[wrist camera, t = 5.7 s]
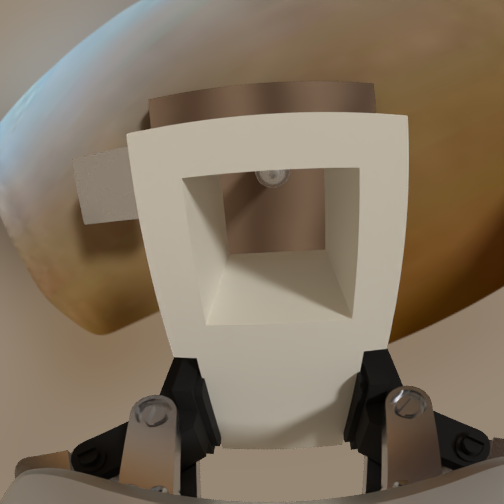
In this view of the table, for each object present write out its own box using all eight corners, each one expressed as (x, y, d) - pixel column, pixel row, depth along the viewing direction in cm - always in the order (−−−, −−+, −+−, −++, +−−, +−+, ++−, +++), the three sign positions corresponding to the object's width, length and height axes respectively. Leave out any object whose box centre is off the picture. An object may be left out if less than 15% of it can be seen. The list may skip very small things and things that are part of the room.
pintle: (285, 148, 21) (290, 153, 15) (287, 174, 22) (292, 189, 16) (258, 149, 21) (252, 155, 16) (259, 176, 22) (255, 191, 16)
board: (367, 86, 20) (373, 83, 18) (364, 299, 27) (368, 308, 26) (155, 100, 21) (148, 99, 20) (186, 307, 29) (182, 315, 27)
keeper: (170, 139, 23) (143, 143, 18) (177, 198, 24) (154, 217, 19) (108, 151, 23) (72, 159, 18) (116, 205, 25) (84, 224, 20)
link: (184, 131, 9) (126, 133, 5) (353, 120, 8) (407, 115, 5) (231, 417, 14) (221, 483, 10) (334, 413, 13) (344, 479, 9)
